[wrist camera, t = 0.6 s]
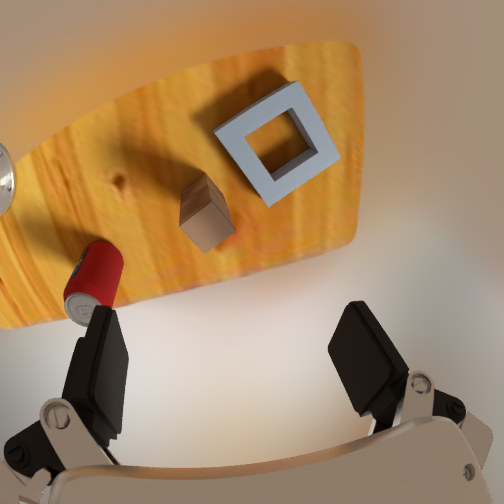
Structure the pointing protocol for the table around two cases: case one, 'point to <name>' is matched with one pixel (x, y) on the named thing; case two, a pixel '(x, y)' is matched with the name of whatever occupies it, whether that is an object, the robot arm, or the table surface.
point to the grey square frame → (299, 167)
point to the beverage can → (93, 281)
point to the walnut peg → (205, 214)
